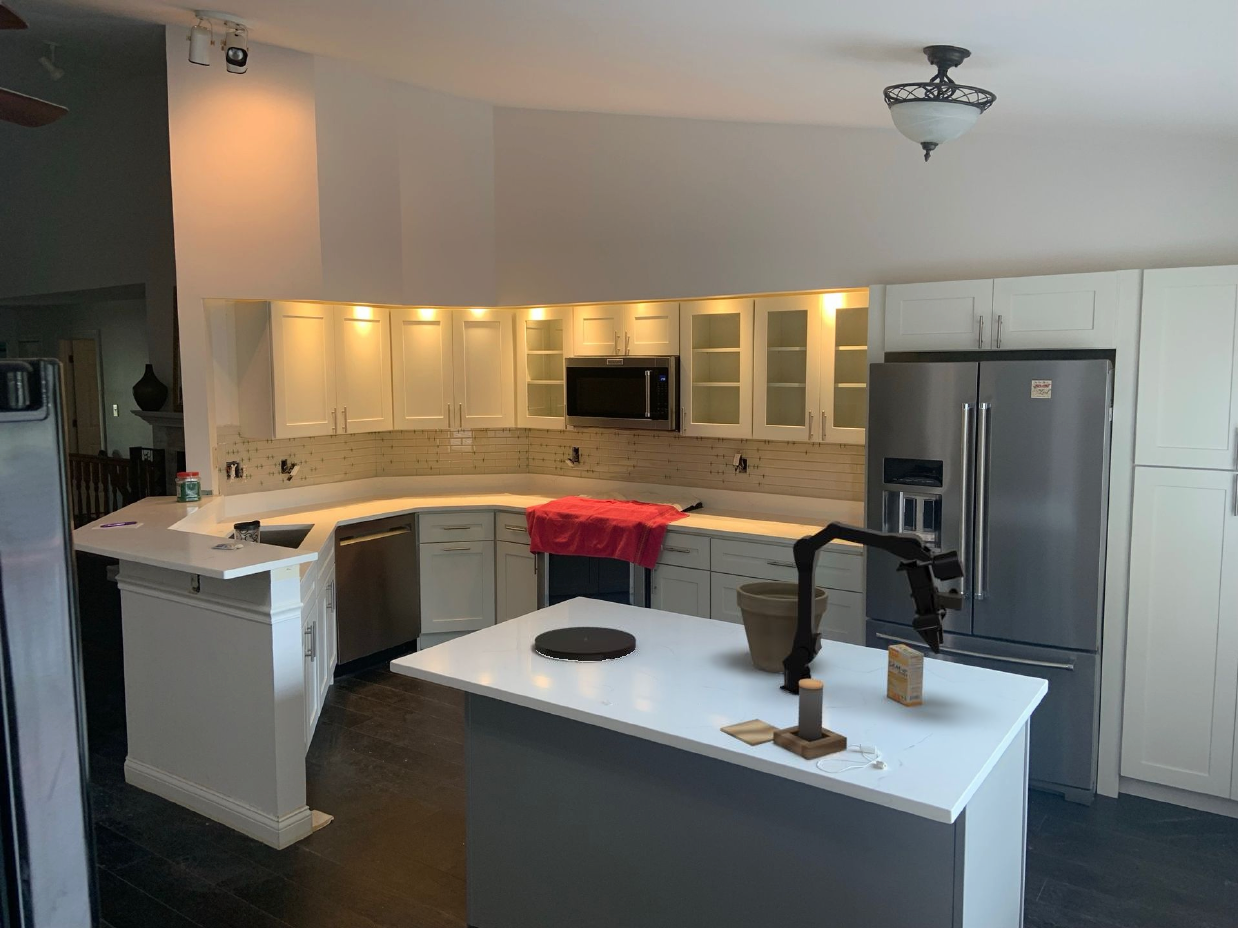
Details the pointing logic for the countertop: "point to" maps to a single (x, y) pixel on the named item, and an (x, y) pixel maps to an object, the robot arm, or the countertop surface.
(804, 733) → the plug
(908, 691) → the supplement box
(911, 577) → the robot arm
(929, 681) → the countertop surface
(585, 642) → the disc
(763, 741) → the cork mat
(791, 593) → the plant pot
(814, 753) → the wooden square frame
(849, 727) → the countertop surface
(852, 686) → the countertop surface
